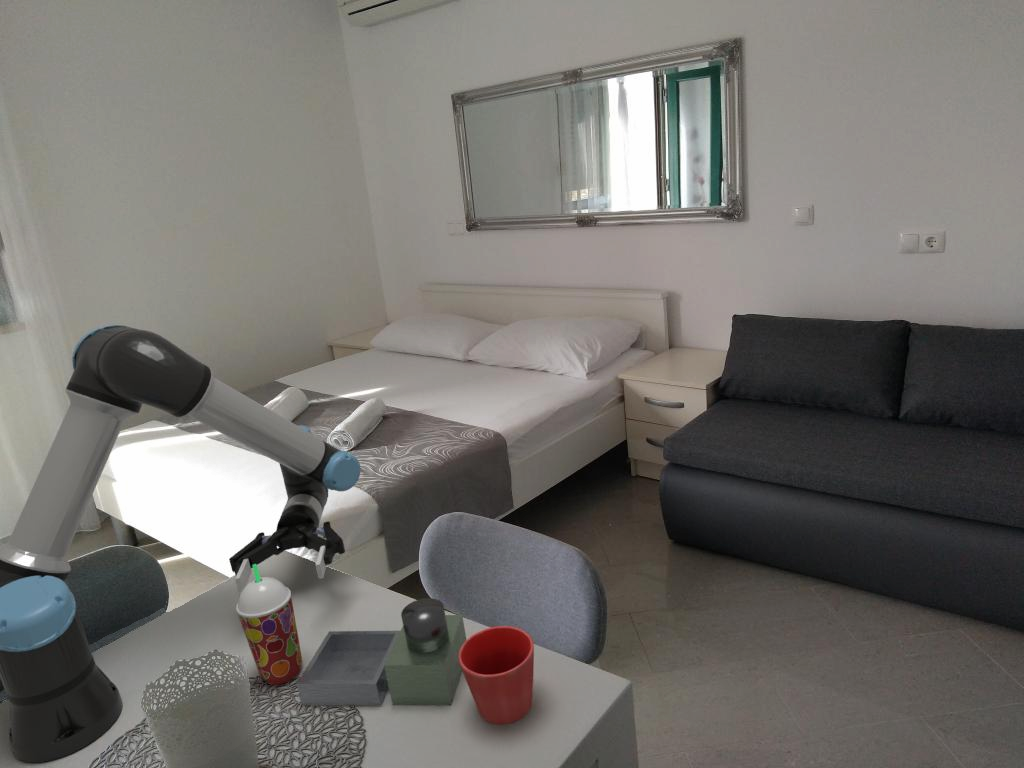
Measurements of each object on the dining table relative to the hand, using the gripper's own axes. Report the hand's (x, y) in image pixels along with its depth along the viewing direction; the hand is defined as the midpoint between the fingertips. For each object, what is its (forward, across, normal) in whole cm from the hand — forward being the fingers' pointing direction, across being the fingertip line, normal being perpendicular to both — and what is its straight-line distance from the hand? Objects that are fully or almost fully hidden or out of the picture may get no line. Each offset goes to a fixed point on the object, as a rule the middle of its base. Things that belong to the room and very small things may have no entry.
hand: (279, 578), depth 129 cm
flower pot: (+26, -35, -12) cm, 45 cm away
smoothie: (+10, 0, -12) cm, 15 cm away
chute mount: (+16, -17, -12) cm, 26 cm away
